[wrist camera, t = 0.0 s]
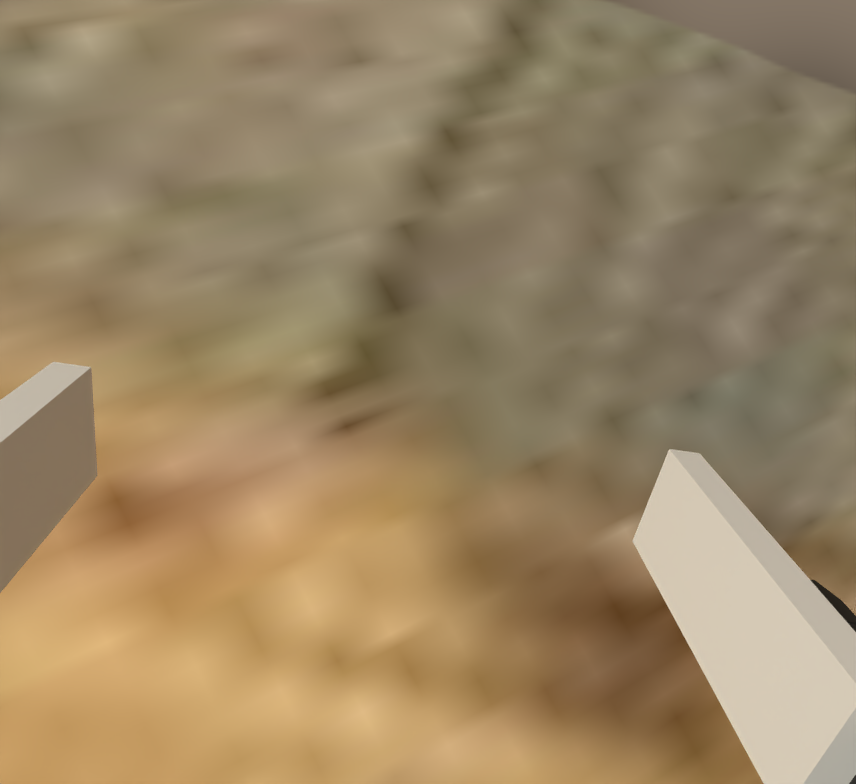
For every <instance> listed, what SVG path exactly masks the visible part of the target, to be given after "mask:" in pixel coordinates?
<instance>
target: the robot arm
mask: <svg viewBox="0 0 856 784" xmlns="http://www.w3.org/2000/svg"><path fill="white" fill-rule="evenodd" d="M96 477H97V461H96V443H95V426H94V408H93V391H92V373H91V367H86V366H79V365H72V364H65V363H58V362H52V363H51V364H50V365H48V366H47V367H45V368H44V369H43V370H41V371H40V372H39V373H37V374H36V375H34V376H33V377H32V378H30V379H29V380H27V381H26V382H25V383H23V384H22V385H21V386H19V387H18V388H16V389H15V390H14V391H12V392H11V393H10V394H8V395H7V396H5V397H4V398H3V399H1V400H0V593H1V591H2V590H3V589H4V588H5V587H6V585H7V584H8V583H9V582H10V581H11V579H12V578H13V577H14V576H15V574H16V573H17V572H18V571H19V570H20V568H21V567H22V566H23V565H24V564H25V562H26V561H27V560H28V559H29V558H30V556H31V555H32V554H33V553H34V552H35V550H36V549H37V548H38V547H39V545H40V544H41V543H42V542H43V541H44V539H45V538H46V537H47V536H48V535H49V533H50V532H51V531H52V530H53V529H54V527H55V526H56V525H57V524H58V523H59V521H60V520H61V519H62V518H63V517H64V515H65V514H66V513H67V512H68V510H69V509H70V508H71V507H72V506H73V504H74V503H75V502H76V501H77V500H78V498H79V497H80V496H81V495H82V494H83V492H84V491H85V490H86V489H87V488H88V486H89V485H90V484H91V483H92V482H93V480H94V479H95V478H96ZM633 543H634V545H635V547H636V548H637V550H638V552H639V554H640V556H641V558H642V560H643V561H644V563H645V565H646V567H647V569H648V571H649V572H650V574H651V576H652V578H653V580H654V582H655V584H656V585H657V587H658V589H659V591H660V593H661V595H662V597H663V598H664V600H665V602H666V604H667V606H668V608H669V609H670V611H671V613H672V615H673V617H674V619H675V621H676V622H677V624H678V626H679V628H680V630H681V632H682V634H683V635H684V637H685V639H686V641H687V643H688V645H689V646H690V648H691V650H692V652H693V654H694V656H695V658H696V659H697V661H698V663H699V665H700V667H701V669H702V671H703V672H704V674H705V676H706V678H707V680H708V682H709V684H710V685H711V687H712V689H713V691H714V693H715V695H716V696H717V698H718V700H719V702H720V704H721V706H722V708H723V709H724V711H725V713H726V715H727V717H728V719H729V721H730V722H731V724H732V726H733V728H734V730H735V732H736V733H737V735H738V737H739V739H740V741H741V743H742V745H743V746H744V748H745V750H746V752H747V754H748V756H749V758H750V759H751V761H752V763H753V765H754V767H755V769H756V770H757V772H758V774H759V776H760V778H761V780H762V782H763V783H764V784H856V616H855V615H854V614H853V613H852V612H851V610H850V609H849V608H848V607H847V606H846V605H845V604H844V603H843V602H842V601H841V600H840V599H839V598H837V597H836V596H835V595H833V594H832V593H831V592H830V591H828V590H827V589H826V588H824V587H823V586H822V585H820V584H819V583H818V582H816V581H815V580H810V579H809V578H808V577H807V576H806V575H805V574H804V572H803V571H802V570H801V569H800V568H799V567H798V566H797V564H796V563H795V562H794V561H793V560H792V559H791V558H790V556H789V555H788V554H787V553H786V552H785V551H784V550H783V548H782V547H781V546H780V545H779V544H778V543H777V542H776V540H775V539H774V538H773V537H772V536H771V535H770V534H769V532H768V531H767V530H766V529H765V528H764V527H763V526H762V524H761V523H760V522H759V521H758V520H757V519H756V518H755V516H754V515H753V514H752V513H751V512H750V511H749V510H748V508H747V507H746V506H745V505H744V504H743V503H742V502H741V500H740V499H739V498H738V497H737V496H736V495H735V493H734V492H733V491H732V490H731V489H730V488H729V487H728V485H727V484H726V483H725V482H724V481H723V480H722V479H721V477H720V476H719V475H718V474H717V473H716V472H715V471H714V469H713V468H712V467H711V466H710V465H709V464H708V463H707V461H706V460H705V459H704V458H703V457H702V456H701V455H700V453H693V452H686V451H679V450H672V449H669V451H668V454H667V456H666V459H665V461H664V464H663V466H662V469H661V471H660V474H659V476H658V479H657V481H656V484H655V486H654V489H653V491H652V494H651V496H650V499H649V501H648V504H647V506H646V509H645V511H644V514H643V516H642V519H641V521H640V524H639V526H638V529H637V531H636V534H635V536H634V539H633Z"/></svg>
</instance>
